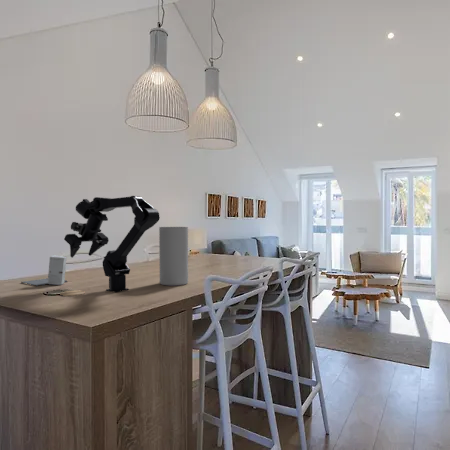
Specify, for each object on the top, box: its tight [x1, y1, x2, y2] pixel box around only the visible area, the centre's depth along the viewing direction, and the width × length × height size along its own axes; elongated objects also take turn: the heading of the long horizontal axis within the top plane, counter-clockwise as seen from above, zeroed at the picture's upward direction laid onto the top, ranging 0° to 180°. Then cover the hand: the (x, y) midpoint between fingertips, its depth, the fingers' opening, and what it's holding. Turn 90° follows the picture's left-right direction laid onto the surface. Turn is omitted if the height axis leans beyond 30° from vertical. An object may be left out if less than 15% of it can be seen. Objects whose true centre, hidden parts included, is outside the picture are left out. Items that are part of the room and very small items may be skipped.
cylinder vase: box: [158, 226, 189, 287], centre depth 164 cm, size 12×12×25 cm
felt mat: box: [22, 277, 68, 287], centre depth 168 cm, size 14×14×1 cm
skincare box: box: [47, 254, 67, 286], centre depth 163 cm, size 6×4×12 cm
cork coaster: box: [59, 290, 86, 297], centre depth 142 cm, size 9×9×1 cm
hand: (80, 256), depth 158 cm, fingers open, 9 cm apart
